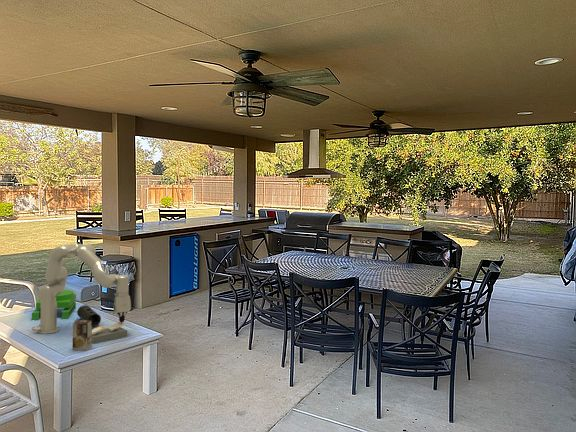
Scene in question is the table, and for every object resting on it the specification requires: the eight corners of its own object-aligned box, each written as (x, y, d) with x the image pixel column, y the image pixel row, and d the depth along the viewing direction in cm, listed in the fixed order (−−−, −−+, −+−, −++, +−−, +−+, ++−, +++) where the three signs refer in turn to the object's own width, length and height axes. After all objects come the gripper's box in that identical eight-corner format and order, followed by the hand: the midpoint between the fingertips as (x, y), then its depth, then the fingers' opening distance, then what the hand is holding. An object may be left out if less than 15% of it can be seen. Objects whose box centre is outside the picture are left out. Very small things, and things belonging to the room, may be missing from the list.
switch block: (93, 343, 266) (93, 335, 266) (85, 339, 274) (85, 331, 274) (127, 336, 283) (127, 328, 282) (118, 332, 291) (118, 324, 290)
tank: (28, 323, 304) (29, 301, 303) (41, 310, 337) (41, 289, 336) (67, 322, 311) (67, 299, 310) (76, 309, 344) (76, 288, 343)
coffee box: (92, 346, 262) (92, 320, 261) (87, 350, 255) (88, 323, 255) (76, 346, 262) (77, 319, 261) (71, 349, 255) (72, 322, 254)
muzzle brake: (86, 329, 295) (86, 314, 294) (76, 319, 316) (76, 305, 316) (101, 327, 301) (101, 312, 300) (90, 317, 322) (90, 303, 322)
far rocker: (111, 331, 278) (110, 329, 278) (107, 329, 281) (107, 327, 281) (124, 324, 284) (123, 323, 284) (120, 323, 288) (120, 321, 287)
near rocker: (92, 334, 269) (91, 333, 269) (88, 333, 272) (88, 331, 272) (106, 328, 275) (105, 326, 275) (102, 326, 279) (102, 324, 279)
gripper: (114, 296, 277) (113, 325, 278) (135, 293, 288) (135, 320, 289) (108, 294, 282) (108, 322, 283) (130, 291, 293) (129, 318, 294)
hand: (121, 321), depth 286 cm, fingers closed
